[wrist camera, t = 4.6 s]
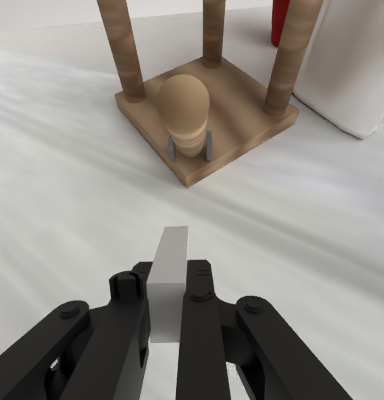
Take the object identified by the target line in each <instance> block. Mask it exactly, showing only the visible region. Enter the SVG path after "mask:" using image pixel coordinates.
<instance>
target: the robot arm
mask: <svg viewBox="0 0 384 400" xmlns="http://www.w3.org/2000/svg"><path fill="white" fill-rule="evenodd" d="M109 284H110V293H111V300H110V302H109V303H108V305H106V306H102V307H99V308H94V309H90V310H89V305H88V304H87V302H84V301H81V300H75V301H69V302H67V303H64V304H62V305H60V306H58V307H57V308H55V309H54V310H53V311H52V312H51V313H49V314H48V315H47V316H46V317H45V318H44V319H42V320H41V321H40V322H39V323H38V324H36V325H35V326H34V327H33V328H32V329H31V330H29V331H28V332H27V333H26V334H25V335H23V336H22V337H21V338H20V339H19V340H18V341H16V342H15V343H14V344H13V345H12V346H10V347H9V348H8V349H7V350H6V351H5V352H3V353H2V354H1V355H0V400H139V398H140V393H141V388H142V384H143V379H144V374H145V369H146V364H147V359H148V355H149V347H148V340H149V336H150V339H151V343H162V342H180V345H179V359H178V372H177V386H176V400H231V396H230V389H229V382H228V375H227V367H226V362H230V363H233V364H235V366H236V370H237V372H238V374H239V377H240V379H241V381H242V383H243V385H244V387H245V390H246V392H247V394H248V396H249V398H250V400H353V399H352V398H351V397H350V396H349V394H348V393H347V392H346V391H345V390H344V389H343V387H342V386H341V385H340V384H339V383H338V382H337V381H336V379H335V378H334V377H333V376H332V375H331V374H330V372H329V371H328V370H327V369H326V368H325V367H324V365H323V364H322V363H321V362H320V361H319V360H318V358H317V357H316V356H315V355H314V354H313V353H312V351H311V350H310V349H309V348H308V347H307V346H306V344H305V343H304V342H303V341H302V340H301V339H300V337H299V336H298V335H297V334H296V333H295V332H294V330H293V329H292V328H291V327H290V326H289V325H288V323H287V322H286V321H285V320H284V319H283V318H282V317H281V315H280V314H279V313H278V312H277V311H276V310H275V308H274V307H273V306H272V305H271V304H270V303H269V302H268V301H267V300H265V299H263V298H261V297H257V296H245V297H242V298H240V299H239V300H238V301H237V302H236V305H235V304H230V303H227V302H224V301H222V300H220V299H219V298H218V297H217V296H216V294H215V292H214V285H213V278H212V271H211V264H210V263H209V262H208V261H207V260H189V233H188V226H182V227H165V228H164V231H163V234H162V237H161V240H160V243H159V246H158V249H157V252H156V255H155V258H154V261H153V262H139V263H138V264H136V265H135V266H134V267H133V269H132V271H124V272H120V273H117V274H115V275H114V276H112V277H111V278H110V279H109ZM56 359H57V361H58V363H57V364H56V365H55V366H54V367H53V368H50V366H51V365H52V363H53V362H54V361H55V360H56Z"/></svg>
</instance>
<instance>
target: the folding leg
mask: <svg viewBox="0 0 384 400" xmlns="http://www.w3.org/2000/svg"><path fill="white" fill-rule="evenodd" d="M209 103H210V100H209V94H208V91H207V89H206V87H205V86H204V84H203V83H202V82H201V81H200V80H199V79H197V78H195V77H193V76H190V75H186V74H181V75H175V76H173V77H171V78H169V79H167V80H166V81H165V82H164V83H163V84H162V85H161V87H160V89H159V91H158V93H157V98H156V106H157V110H158V113H159V115H160V117H161V119H162V120H163V122H164V124H165V126H166V128H167V130H168V131H169V133H170V135H171V137H172V139H173V141H174V142H175V144H176V146H177V148H178V150H179V151H180V153H181V154H182V155H184V156H186V157H194V156H196V155H198V154H199V153H200V152H201V151H202V148H203V144H204V137H205V130H206V124H207V117H208V111H209Z"/></svg>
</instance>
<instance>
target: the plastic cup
mask: <svg viewBox="0 0 384 400" xmlns="http://www.w3.org/2000/svg"><path fill="white" fill-rule="evenodd" d="M289 3H290V0H273V9H272V32H271V42H272V43H273V45H275V46H276V47H279V43H280V39H281V35H282V31H283V27H284V23H285V19H286V15H287V11H288V7H289Z"/></svg>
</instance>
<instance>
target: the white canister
mask: <svg viewBox="0 0 384 400" xmlns="http://www.w3.org/2000/svg"><path fill="white" fill-rule="evenodd" d="M292 92H293V93H294V95H295V96H296V97H297V98H298V99H300V100H301V101H302V102H304V103H305V104H307V105H308V106H309V107H311V108H312V109H314V110H315V111H316V112H318V113H319V114H320V115H322V116H323V117H325V118H326V119H327V120H329V121H330V122H332V123H333V124H334V125H336V126H337V127H339V128H340V129H341V130H343V131H345V132H348V133H350V134H352V135H354V136H356V137H358V138H360V139H365V138H367V137H368V136H370V135H371V134H373V133H375V131H376V130H377V129H378V127H379V126H380V125H381V124H382V122H383V121H384V0H324V1H323V4H322V7H321V10H320V12H319V15H318V18H317V21H316V24H315V27H314V30H313V33H312V36H311V38H310V41H309V44H308V47H307V50H306V53H305V56H304V59H303V62H302V64H301V67H300V70H299V73H298V76H297V79H296V82H295V85H294V88H293V90H292Z"/></svg>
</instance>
